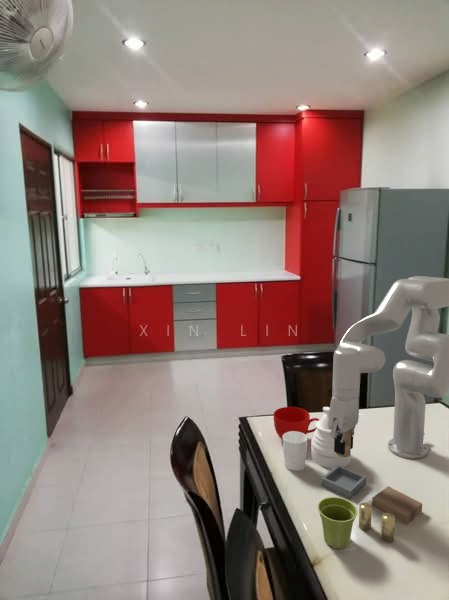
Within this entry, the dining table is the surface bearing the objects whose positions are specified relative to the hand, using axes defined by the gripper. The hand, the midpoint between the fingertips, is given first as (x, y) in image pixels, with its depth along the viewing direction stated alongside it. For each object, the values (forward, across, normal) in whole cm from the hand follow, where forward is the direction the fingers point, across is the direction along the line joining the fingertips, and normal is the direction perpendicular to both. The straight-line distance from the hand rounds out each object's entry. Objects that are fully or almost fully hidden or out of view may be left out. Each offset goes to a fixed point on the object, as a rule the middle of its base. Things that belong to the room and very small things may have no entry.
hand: (343, 449), depth 125 cm
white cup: (+12, 0, -17) cm, 21 cm away
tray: (+12, -1, 0) cm, 12 cm away
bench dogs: (+12, +12, +16) cm, 23 cm away
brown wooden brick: (+12, -1, +16) cm, 20 cm away
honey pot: (+12, -12, -11) cm, 20 cm away
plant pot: (+12, +21, +10) cm, 26 cm away
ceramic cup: (+12, -14, -26) cm, 32 cm away
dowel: (+1, 0, 0) cm, 1 cm away
